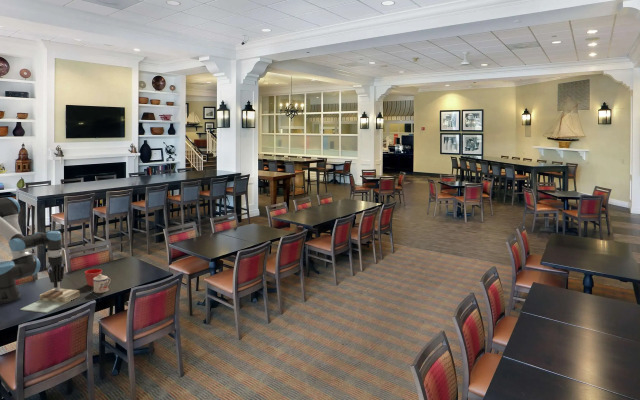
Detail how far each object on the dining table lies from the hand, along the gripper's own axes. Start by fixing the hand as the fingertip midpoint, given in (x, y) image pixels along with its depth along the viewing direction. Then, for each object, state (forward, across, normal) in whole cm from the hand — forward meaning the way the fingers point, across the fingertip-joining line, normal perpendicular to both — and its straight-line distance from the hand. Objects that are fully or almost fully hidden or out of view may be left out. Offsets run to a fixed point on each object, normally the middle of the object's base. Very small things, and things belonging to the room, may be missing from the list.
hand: (57, 291), depth 259 cm
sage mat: (+5, -12, 0) cm, 13 cm away
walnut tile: (+1, -4, 0) cm, 4 cm away
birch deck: (+5, +1, 0) cm, 5 cm away
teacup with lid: (+5, +20, -16) cm, 27 cm away
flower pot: (+5, +28, -4) cm, 29 cm away
